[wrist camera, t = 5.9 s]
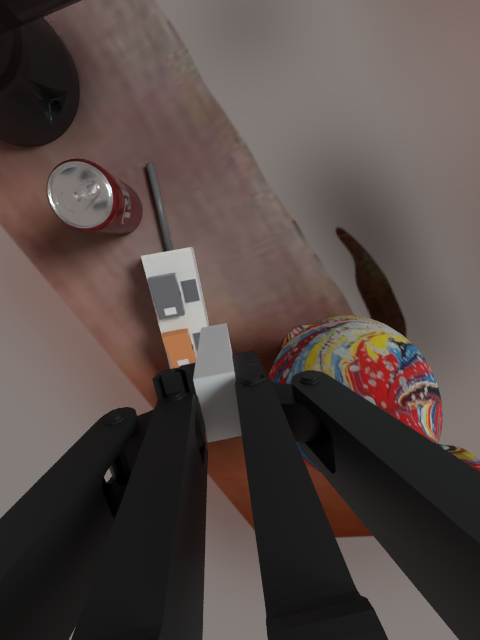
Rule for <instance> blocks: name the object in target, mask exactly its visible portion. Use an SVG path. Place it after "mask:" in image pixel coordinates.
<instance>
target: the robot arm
mask: <svg viewBox="0 0 480 640" xmlns="http://www.w3.org/2000/svg"><path fill="white" fill-rule="evenodd" d="M79 1H81V0H0V139H2V140H5V141H7V142H10V143H13V144H16V145H22V146H38V145H43V144H46V143H49V142H51V141H53V140H55V139H57V138H58V137H59V136H61V135H62V134H63V133H64V132H65V131H66V130H67V129H68V127H69V126H70V124H71V123H72V121H73V119H74V117H75V115H76V112H77V108H78V103H79V80H78V75H77V70H76V67H75V64H74V62H73V59H72V57H71V55H70V53H69V51H68V49H67V47H66V46H65V44H64V43H63V41H62V40H61V38H60V37H59V36H58V34H57V33H56V32H55V30H54V29H53V28H52V26H51V25H50V24H49V23H48V22H47V21H46V20H45V19H44V16H47V15H49V14H51V13H54V12H56V11H58V10H61V9H63V8H65V7H68V6H70V5H72V4H74V3H77V2H79ZM152 380H153V383H154V387H155V391H156V394H157V398H158V401H157V404H156V407H155V409H154V410H151V411H149V412H147V413H144V414H141V415H139V416H137V414H136V411H135V409H133V408H130V407H129V408H128V407H125V408H118V409H116V410H112V411H110V412H109V413H107V414H105V415H104V416H103V417H101V418H100V419H99V420H98V421H97V422H96V423H95V424H94V425H93V426H92V427H91V428H90V429H89V430H88V431H87V432H86V433H85V434H84V435H83V436H82V437H81V438H80V439H79V440H78V441H77V442H76V443H75V444H74V445H73V446H72V447H71V448H70V449H69V450H68V451H67V452H66V453H65V454H64V455H63V456H62V457H61V458H60V459H59V460H58V461H57V462H56V463H55V464H54V465H53V466H52V467H51V468H50V469H49V470H48V471H47V472H46V473H45V474H44V475H43V476H42V477H41V478H40V479H39V480H38V481H37V482H36V483H35V484H34V485H33V486H32V487H31V488H30V489H29V490H28V491H27V492H26V493H25V494H24V495H23V496H22V497H21V498H20V499H19V500H18V501H17V502H16V503H15V504H14V506H13V507H11V509H10V510H9V511H7V512H6V513H5V515H4V516H3V517H2V518H1V519H0V640H69V638H70V636H71V634H72V632H73V630H74V629H75V631H74V633H73V636H72V639H71V640H202V633H203V599H204V596H203V595H204V566H205V564H204V563H205V529H206V497H207V496H206V495H207V494H206V493H207V462H208V450H207V446H206V442H205V433H206V437H207V441H208V443H209V442H214V441H219V440H223V439H228V438H233V437H238V436H242V441H243V448H244V455H245V462H246V469H247V477H248V484H249V491H250V498H251V506H252V513H253V520H254V527H255V534H256V542H257V549H258V556H259V563H260V570H261V577H262V585H263V592H264V599H265V607H266V616H267V617H266V626H267V636H268V640H388V638H387V636H386V634H385V631H384V629H383V627H382V625H381V623H380V621H379V619H378V617H377V615H376V612H375V610H374V608H373V607H372V606H371V604H370V602H369V601H368V599H367V598H365V597H363V596H361V595H360V594H359V592H358V591H357V589H356V587H355V585H354V583H353V580H352V578H351V575H350V573H349V570H348V568H347V566H346V563H345V561H344V558H343V556H342V553H341V551H340V548H339V546H338V543H337V541H336V539H335V536H334V534H333V531H332V529H331V526H330V524H329V521H328V519H327V517H326V514H325V512H324V509H323V507H322V504H321V502H320V499H319V497H318V495H317V492H316V490H315V487H314V485H313V482H312V480H311V477H310V475H309V473H308V470H307V468H306V465H305V463H304V460H303V458H302V455H301V453H300V451H299V448H298V446H297V443H296V442H299V444H300V446H301V448H302V450H303V451H304V452H305V453H306V454H307V456H308V457H309V458H310V459H311V461H312V462H313V463H314V464H315V465H316V467H317V468H318V469H319V470H320V471H321V473H322V474H323V475H324V476H325V478H326V479H327V480H328V481H329V482H330V484H331V485H332V486H333V487H334V488H335V490H336V491H337V492H338V493H339V494H340V496H341V497H342V498H343V499H344V501H345V502H346V503H347V504H348V505H349V507H350V508H351V509H352V510H353V511H354V513H355V514H356V515H357V516H358V518H359V519H360V520H361V521H362V522H363V524H364V525H365V526H366V527H367V528H368V530H369V531H370V532H371V533H372V535H373V536H374V537H375V538H376V539H377V541H378V542H379V543H380V544H381V545H382V547H383V548H384V549H385V550H386V552H388V554H389V555H390V556H391V558H392V559H393V560H394V561H395V562H396V564H397V565H398V566H399V567H400V569H401V570H402V571H403V572H404V573H405V575H406V576H407V577H408V578H409V579H410V580H411V582H412V583H413V584H414V585H415V587H416V588H417V589H418V590H419V591H420V593H421V594H422V595H423V596H424V598H425V599H426V600H427V601H428V602H429V603H430V605H431V606H432V607H433V609H434V610H435V611H436V612H437V613H438V614H439V616H440V617H441V618H442V619H443V621H444V622H445V623H446V624H447V626H448V627H449V628H450V629H451V630H452V631H453V633H454V634H455V635H456V636H457V638H458V639H459V640H480V472H479V471H478V470H476V469H475V468H473V467H472V466H470V465H468V464H467V463H465V462H464V461H462V460H461V459H459V458H457V457H456V456H454V455H453V454H451V453H450V452H448V451H446V450H445V449H443V448H442V447H440V446H439V445H437V444H436V443H434V442H432V441H431V440H429V439H428V438H426V437H425V436H423V435H421V434H420V433H418V432H417V431H415V430H414V429H412V428H410V427H409V426H407V425H406V424H404V423H403V422H401V421H399V420H398V419H396V418H395V417H393V416H392V415H390V414H389V413H387V412H385V411H384V410H382V409H381V408H379V407H378V406H376V405H374V404H373V403H371V402H370V401H368V400H367V399H365V398H363V397H362V396H360V395H359V394H357V393H356V392H354V391H353V390H351V389H349V388H348V387H346V386H345V385H343V384H342V383H340V382H338V381H337V380H335V379H334V378H332V377H331V376H329V375H327V374H326V373H323V372H321V371H315V370H310V371H309V370H306V371H303V372H299V373H297V374H295V375H294V376H293V377H292V379H291V384H278V383H274V382H271V380H270V377H269V376H268V375H266V374H265V372H264V370H263V367H262V365H261V362H260V360H259V357H258V354H256V353H254V352H252V351H250V352H244V353H239V354H234V355H232V349H231V344H230V339H229V334H228V328H227V323H225V324H219V325H214V326H209V327H203V328H201V333H200V339H199V345H198V351H197V357H196V363H191V364H186V365H181V366H180V367H179V368H172V369H168V370H165V371H163V372H161V373H159V374H158V375H156V376H155V377H154V378H153V379H152ZM108 469H110V471H111V474H112V477H111V478H110V480H109V481H108V482H107V483H106V481H105V479H104V475H105V474H106V472H107V470H108ZM75 627H76V628H75Z"/></svg>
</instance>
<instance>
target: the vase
mask: <svg viewBox="0 0 480 640" xmlns="http://www.w3.org/2000/svg"><path fill="white" fill-rule="evenodd" d="M306 370H309V371H310V370H315V371H321V372H323V373H326V374H327V375H329V376H331V377H332V378H334V379H335V380H337V381H338V382H340V383H342V384H343V385H345V386H346V387H348V388H349V389H351V390H353V391H354V392H356V393H357V394H359V395H360V396H362V397H363V398H365V399H367V400H368V401H370V402H371V403H373V404H374V405H376V406H378V407H379V408H381V409H382V410H384V411H385V412H387V413H389V414H390V415H392V416H393V417H395V418H396V419H398V420H399V421H401V422H403V423H404V424H406V425H407V426H409V427H410V428H412V429H414V430H415V431H417V432H418V433H420V434H421V435H423V436H425V437H426V438H428V439H429V440H431V441H432V442H434V443H436V444H437V445H439V446H440V447H442V448H443V449H445V450H446V451H448V452H450V453H451V454H453V455H454V456H456V457H457V458H459V459H461V460H462V461H464V462H465V463H467V464H468V465H470V466H472V467H473V468H475V469H476V470H478V471H479V472H480V461H479V459H478V458H476V457H475V456H474V455H473V454H472V453H470V452H468V451H467V450H465V449H462V448H459V447H456V446H449V445H441V444H440V443H438V442H439V439H440V435H441V430H442V420H443V412H442V402H441V396H440V393H439V389H438V386H437V383H436V380H435V377H434V375H433V373H432V371H431V369H430V367H429V365H428V364H427V362H426V360H425V359H424V357H423V356H422V354H421V353H420V352H419V350H418V349H417V348H416V347H415V346H414V345H413V344H411V342H409V341H408V340H407V339H406V338H405V337H404V336H403V335H402V334H400V333H398V332H397V331H395V330H394V329H392V328H390V327H389V326H387V325H385V324H383V323H380V322H378V321H375V320H372V319H370V318H365V317H360V316H338V317H332V318H328V319H325V320H321V321H319V322H317V323H314V324H312V325H302V326H300V327H297V328H294V329H293V330H292V331H291V332H289V333H288V335H287V336H286V337H285V338H284V341H283V344H282V350H281V351H280V353H279V354H278V356H277V358H276V359H275V361H274V363H273V366H272V368H271V370H270V374H269V377H270V380H271V382H274V383H278V384H291V379H292V377H293V376H294V375H295V374H297V373H299V372H303V371H306ZM296 443H297V446H298V448H299V451H300V453H301V455H302V458H303V460H304V463H305V464H306V465H308V466H309V467H311V468H312V469H314V470H315V471H317V472H319V473H321V471H320V470H319V469H318V468H317V467H316V465H315V464H314V463H313V462H312V461H311V459H310V458H309V457H308V456H307V454H306V453H305V452H304V451H303V450H302V448H301V446H300V444H299V442H296ZM321 474H322V473H321Z"/></svg>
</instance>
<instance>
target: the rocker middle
mask: <svg viewBox="0 0 480 640" xmlns="http://www.w3.org/2000/svg"><path fill="white" fill-rule="evenodd" d="M162 339H163V342H164V345H165V348H166V351H167V354H168V356H169V359H170V362H171V365H172V368H179V367H180V366H181V365H186V364H191V363H196V356H195V352H194V348H193V344H192V342H191V338H190V335H189V331H188V328H185V329H180V330H175V331H169V332H164V333H163V334H162Z"/></svg>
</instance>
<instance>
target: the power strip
mask: <svg viewBox="0 0 480 640" xmlns="http://www.w3.org/2000/svg"><path fill="white" fill-rule="evenodd" d="M146 167H147V171H148V175H149V179H150V184H151V188H152V192H153V197H154V201H155V205H156V209H157V214H158V218H159V222H160V226H161V231H162V235H163V239H164V243H165V248H166V252H161V253H155V254H149V255H144V256H141V258H142V262H143V266H144V270H145V274H146V278H147V279H148V278H149V277H153V276H158V275H164V274H169V273H175V274H176V278H177V282H178V285H179V289H180V292H181V297H182V301H183V305H184V309H185V315H184V316H178V317H173V318H168V319H162V320H160V319H159V316H158V313H157V309H156V306H155V303H154V301H153V296H152V293H151V290H150V293H151V297H152V301H153V304H154V308H155V312H156V316H157V320H158V324H159V328H160V331H161V335H162V334H163V333H164V332H169V331H175V330H180V329H185V328H188V331H189V335H190V338H191V342H192V344H193V348H194V352H195V356H196V357H197V351H198V345H199V339H200V333H201V328H203V327H209V321H208V317H207V312H206V307H205V302H204V297H203V293H202V288H201V283H200V278H199V274H198V269H197V264H196V259H195V255H194V250H193V247H189V248H183V249H178V250H173V248H172V243H171V239H170V235H169V230H168V226H167V222H166V217H165V213H164V208H163V204H162V200H161V195H160V191H159V187H158V182H157V178H156V173H155V169H154V165H153V163H147V164H146ZM147 281H148V280H147ZM148 285H149V283H148ZM149 289H150V286H149ZM163 343H164V342H163ZM164 347H165V345H164ZM165 351H166V348H165ZM166 354H167V351H166ZM167 358H168V362H169V366H170V369H172V365H171V362H170V359H169V356H168V354H167Z"/></svg>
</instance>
